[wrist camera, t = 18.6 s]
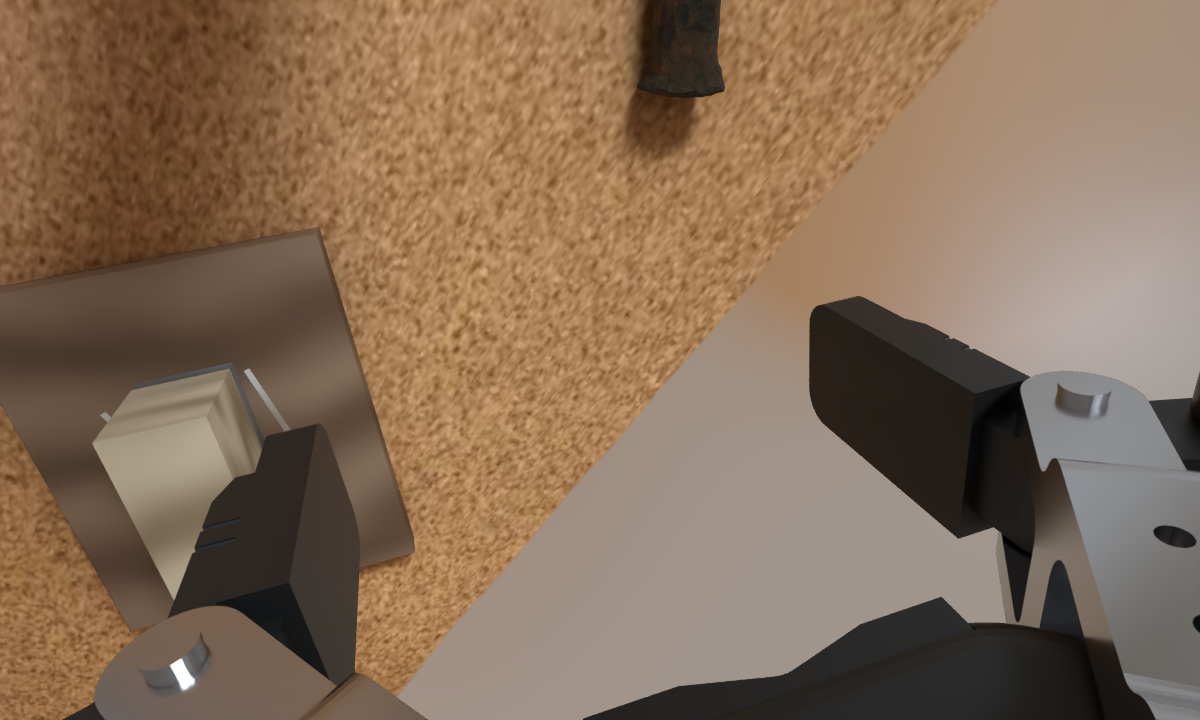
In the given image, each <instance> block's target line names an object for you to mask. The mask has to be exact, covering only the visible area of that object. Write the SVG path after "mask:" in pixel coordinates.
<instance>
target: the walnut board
mask: <svg viewBox="0 0 1200 720" xmlns="http://www.w3.org/2000/svg"><path fill="white" fill-rule="evenodd" d="M232 362H233V364H234V367H235V369H236V372H237V374H238V377H239V380H240V382H241V385H242V387H243V390H244V392H245V395H246V397H247V400H248V402H249V405H250V407H251V410H252V412H253V415H254V417H255V420H256V423H257V425H258V428H259V430H260V433H261V435H262V438H263V440H264V441H265V438H266V437H267V436H268V435H272V434H276V433H280V432H285V431H289V430H293V429H297V428H301V427H306V426H310V425H314V424H318V423H320V424H321V425H322V426H323V427H324V429H325V431H326V433H327V435H328V438H329V440H330V443H331V446H332V449H333V452H334V455H335V458H336V461H337V463H338V466H339V469H340V472H341V475H342V478H343V481H344V484H345V487H346V489H347V492H348V495H349V498H350V501H351V504H352V507H353V510H354V513H355V517H356V521H357V526H358V532H359V539H360V565H359V568H361V567H365V566H368V565H372V564H375V563H379V562H382V561H386V560H390V559H393V558H397V557H400V556H404V555H408V554H411V553H415V546H414V536H413V533H412V529H411V526H410V523H409V520H408V516H407V513H406V510H405V506H404V503H403V500H402V497H401V493H400V490H399V487H398V484H397V480H396V477H395V474H394V471H393V467H392V464H391V461H390V458H389V454H388V451H387V448H386V444H385V441H384V438H383V435H382V431H381V428H380V425H379V422H378V418H377V415H376V412H375V409H374V405H373V402H372V399H371V395H370V392H369V389H368V386H367V382H366V379H365V376H364V373H363V369H362V366H361V363H360V360H359V356H358V353H357V350H356V347H355V343H354V340H353V337H352V333H351V330H350V327H349V324H348V320H347V317H346V314H345V311H344V307H343V304H342V301H341V298H340V294H339V291H338V288H337V285H336V281H335V278H334V275H333V271H332V268H331V265H330V262H329V258H328V255H327V252H326V249H325V245H324V242H323V239H322V236H321V232H320V229H319V227H318V228H313V229H307V230H302V231H297V232H291V233H286V234H280V235H275V236H270V237H264V238H259V239H254V240H248V241H243V242H237V243H232V244H227V245H221V246H216V247H211V248H205V249H200V250H194V251H189V252H184V253H178V254H173V255H168V256H162V257H157V258H151V259H146V260H141V261H135V262H130V263H125V264H119V265H114V266H108V267H103V268H98V269H92V270H87V271H82V272H76V273H71V274H65V275H60V276H55V277H49V278H44V279H38V280H33V281H28V282H22V283H17V284H12V285H6V286H1V287H0V403H1V405H2V407H3V409H4V410H5V412H6V414H7V416H8V417H9V419H10V421H11V423H12V424H13V426H14V428H15V430H16V431H17V433H18V435H19V437H20V438H21V440H22V442H23V444H24V445H25V447H26V449H27V451H28V452H29V454H30V456H31V458H32V460H33V461H34V463H35V465H36V467H37V468H38V470H39V472H40V474H41V475H42V477H43V479H44V481H45V482H46V484H47V486H48V488H49V489H50V491H51V493H52V495H53V496H54V498H55V500H56V502H57V503H58V505H59V507H60V509H61V510H62V512H63V514H64V516H65V517H66V519H67V521H68V523H69V524H70V526H71V528H72V530H73V531H74V533H75V535H76V537H77V538H78V540H79V542H80V544H81V545H82V547H83V549H84V551H85V552H86V554H87V556H88V558H89V559H90V561H91V563H92V565H93V566H94V568H95V570H96V572H97V573H98V575H99V577H100V579H101V580H102V582H103V584H104V586H105V587H106V589H107V591H108V593H109V594H110V596H111V598H112V600H113V602H114V603H115V605H116V607H117V609H118V610H119V612H120V614H121V616H122V617H123V619H124V621H125V623H126V624H127V626H128V628H129V630H130V631H131V632H132V631H135V630H139V629H142V628H146V627H150V626H153V625H156V624H158V623H160V622H162V621H164V620H166V619H167V618H168V616H169V613H170V610H171V608H172V605H173V602H174V600H173V598H172V596H171V594H170V592H169V590H168V588H167V586H166V584H165V582H164V580H163V578H162V576H161V575H160V573H159V571H158V569H157V567H156V565H155V563H154V561H153V559H152V557H151V555H150V553H149V552H148V550H147V548H146V546H145V544H144V542H143V540H142V538H141V536H140V534H139V532H138V530H137V529H136V527H135V525H134V523H133V521H132V519H131V517H130V515H129V513H128V511H127V509H126V507H125V506H124V504H123V502H122V500H121V498H120V496H119V494H118V492H117V490H116V488H115V486H114V484H113V483H112V481H111V479H110V477H109V475H108V473H107V471H106V469H105V467H104V465H103V463H102V461H101V459H100V458H99V456H98V454H97V452H96V450H95V448H94V446H93V444H92V443H93V441H94V440H95V439H96V437H97V436H98V435H99V433H100V432H101V431H102V429H103V428H104V427H105V425H106V424H107V422H108V421H109V420H110V418H111V417H112V416H113V414H114V413H115V412H116V410H117V409H118V408H119V406H120V405H121V404H122V402H123V401H124V399H125V398H126V397H127V395H128V394H129V393H130V391H131V390H132V389H133V387H134V386H135V385H136V383H140V382H145V381H149V380H154V379H159V378H163V377H168V376H172V375H177V374H182V373H186V372H191V371H195V370H200V369H205V368H209V367H214V366H218V365H223V364H228V363H232Z"/></svg>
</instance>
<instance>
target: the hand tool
mask: <svg viewBox="0 0 1200 720" xmlns="http://www.w3.org/2000/svg"><path fill="white" fill-rule="evenodd" d="M720 4H721V0H652V12H651V14H652V28H651V49H650V58H649V66H648V69H647V72H646V75H645V77H644V78H643V79H642V80H641V81H640V82H639V83H638V85H637V87H638V88H639V89H640V90H641V91H644V90H645V91H647V92H650V93H655V94H659V95H663V96H667V97H683V98H690V97H704V96H711V95H713V94H716V93H720V92H724V89H725V86H724V82H723V78H722V71H721V67H720V65H719V63H718V54H717V48H718V37H719V25H720Z"/></svg>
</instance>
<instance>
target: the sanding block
mask: <svg viewBox="0 0 1200 720" xmlns="http://www.w3.org/2000/svg"><path fill="white" fill-rule="evenodd" d="M92 444H93V446H94V448H95V450H96V452H97V454H98V456H99V458H100V459H101V461H102V463H103V465H104V467H105V469H106V471H107V473H108V475H109V477H110V479H111V481H112V483H113V484H114V486H115V488H116V490H117V492H118V494H119V496H120V498H121V500H122V502H123V504H124V506H125V507H126V509H127V511H128V513H129V515H130V517H131V519H132V521H133V523H134V525H135V527H136V529H137V530H138V532H139V534H140V536H141V538H142V540H143V542H144V544H145V546H146V548H147V550H148V552H149V553H150V555H151V557H152V559H153V561H154V563H155V565H156V567H157V569H158V571H159V573H160V575H161V576H162V578H163V580H164V582H165V584H166V586H167V588H168V590H169V592H170V594H171V596H172V598H173V600H175V597H176V594H177V592H178V589H179V587H180V584H181V581H182V579H183V576H184V573H185V571H186V568H187V565H188V563H189V560H190V558H191V555H192V553H194V552H195V548H194V547H195V544H196V542H197V539H198V537H199V534H200V532H202V531H203V528H202V526H203V523H204V521H205V518H206V515H207V513H208V510H209V508H210V505H211V502H212V501H213V500H214V499H215V498H216V497H217V496H218V495H219V494H220V493H221V492H222V491H223V490H224V489H225V488H226V486H227V485H228V484H229V483H230V482H231V481H232V480H233V479H234V478H235V477H239V476H243V475H247V474H251V473H255V471H256V467H257V464H258V461H259V458H260V454H261V451H262V448H263V444H264V440H263V438H262V435H261V433H260V430H259V428H258V425H257V423H256V420H255V417H254V415H253V412H252V410H251V407H250V405H249V402H248V400H247V397H246V395H245V392H244V390H243V387H242V385H241V382H240V380H239V377H238V374H237V372H236V369H235V367H234V364H233V362H232V363H228V364H223V365H218V366H214V367H209V368H205V369H200V370H195V371H191V372H186V373H182V374H177V375H172V376H168V377H163V378H159V379H154V380H149V381H145V382H140V383H136V385H135V386H134V387H133V389H132V390H131V391H130V393H129V394H128V395H127V397H126V398H125V399H124V401H123V402H122V404H121V405H120V406H119V408H118V409H117V410H116V412H115V413H114V414H113V416H112V417H111V418H110V420H109V421H108V422H107V424H106V425H105V427H104V428H103V429H102V431H101V432H100V433H99V435H98V436H97V437H96V439H95V440H94V441H93V443H92Z"/></svg>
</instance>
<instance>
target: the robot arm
mask: <svg viewBox="0 0 1200 720" xmlns="http://www.w3.org/2000/svg"><path fill="white" fill-rule="evenodd" d="M809 352H810V355H809V358H810V359H809V361H810V362H809V373H810V374H809V390H810V397H811V401H812V405H813V408H814V410H815V412H816V414H817V416H818V417H819V419H820V420H821V422H822V423H823V424H824V425H825V426H827V427H828V428H829V429H830V430H831V431H832V432H834V433H835V434H836V435H837V436H838V437H840V438H841V439H842V440H843V441H844V442H846V443H847V444H848V445H849V446H850V447H851V448H853V449H854V450H855V451H856V452H857V453H858V454H859V455H861V456H862V457H863V458H864V459H865V460H867V461H868V462H869V463H870V464H871V465H872V466H874V467H875V468H876V469H877V470H878V471H879V472H881V473H882V474H883V475H884V476H885V477H886V478H888V479H889V480H890V481H891V482H892V483H893V484H895V485H896V486H897V487H898V488H899V489H901V490H902V491H903V492H904V493H905V494H906V495H908V496H909V497H910V498H911V499H912V500H914V501H915V502H916V503H917V504H918V505H919V506H920V507H922V508H923V509H924V510H925V511H926V512H928V513H929V514H930V515H931V516H932V517H933V518H935V519H936V520H937V521H938V522H939V523H941V524H942V525H943V526H944V527H945V528H946V529H948V530H949V531H950V532H951V533H953V535H955V536H956V537H957V538H958V539H959V538H962V537H965V536H968V535H971V534H974V533H977V532H980V531H983V530H986V529H990V528H992V527H994V528H995V529H997V530H998V531H999V533H998V540H997V546H996V557H997V563H998V570H999V578H1000V584H1001V591H1002V597H1003V605H1004V612H1005V619H1006V623H967V622H966V621H965V620H964V619H963V618H962V617H961V616H960V615H959V614H958V613H957V612H956V611H955V610H954V609H953V608H952V607H951V606H950V605H949V604H948V603H947V602H946V601H945V600H944V599H943V598H942V597H940V598H937V599H934V600H931V601H928V602H925V603H922V604H919V605H916V606H913V607H910V608H907V609H904V610H901V611H898V612H895V613H892V614H890V615H887V616H884V617H881V618H878V619H875V620H872V621H869V622H866V623H863V624H860V625H859V626H857V627H856V628H854V629H853V630H851V631H850V632H848V633H847V634H845V635H844V636H843V637H841V638H840V639H838V640H837V641H835V642H834V643H832V644H831V645H829V646H828V647H826V648H825V649H823V650H822V651H821V652H819V653H818V654H816V655H815V656H813V657H812V658H810V659H809V660H807V661H806V662H805V663H803V664H801V665H800V666H799V667H797V668H796V669H794V670H792V671H791V672H789V673H787V674H784V675H781V676H775V677H766V678H756V679H746V680H736V681H726V682H716V683H706V684H697V685H686V686H678V687H675V688H672V689H669V690H666V691H663V692H660V693H657V694H654V695H651V696H649V697H645V698H642V699H640V700H637V701H634V702H631V703H628V704H625V705H622V706H619V707H616V708H613V709H610V710H607V711H604V712H602V713H598V714H596V715H592V716H590V717H586V718H584V719H583V720H1200V373H1199V377H1198V380H1197V384H1196V387H1195V391H1194V395H1193V398H1185V399H1170V400H1156V401H1148V400H1147V398H1146V397H1145V396H1144V395H1143V394H1142V393H1141V392H1140V391H1138V390H1137V389H1135V388H1134V387H1132V386H1130V385H1128V384H1126V383H1123V382H1121V381H1118V380H1115V379H1112V378H1109V377H1105V376H1101V375H1096V374H1090V373H1084V372H1073V371H1060V372H1048V373H1043V374H1038V375H1035V376H1033V377H1029V376H1027V375H1025V374H1023V373H1021V372H1019V371H1017V370H1015V369H1013V368H1011V367H1009V366H1007V365H1005V364H1003V363H1002V362H1000V361H997V360H996V359H994V358H992V357H990V356H987V355H986V354H984V353H982V352H980V351H978V350H976V349H969V346H968V345H966V344H964V343H962V342H960V341H958V340H956V339H950V338H949V336H948V335H946V334H944V333H942V332H940V331H938V330H936V329H934V328H933V327H930V326H928V325H927V324H924V323H920V322H916V321H912V320H908V319H904V318H902V317H900V316H898V315H897V314H895V313H893V312H891V311H889V310H887V309H885V308H883V307H881V306H879V305H877V304H875V303H873V302H871V301H869V300H868V299H866V298H864V297H861V296H856V297H852V298H848V299H844V300H839V301H835V302H831V303H827V304H823V305H819V306H816V307H815V308H814V309H813V311H812V313H811V317H810V350H809ZM202 528H203V531H202V532H200V534H199V537H198V539H197V542H196V544H195V547H194V548H195V552H194V553H192V555H191V558H190V560H189V563H188V565H187V568H186V571H185V573H184V576H183V579H182V581H181V584H180V587H179V589H178V592H177V594H176V597H175V600H174V602H173V605H172V608H171V610H170V613H169V616H168V618H167V619H166V620H164V621H162V622H160V623H158V624H156V625H155V626H153V627H151V628H150V629H148V630H146V631H145V632H144V633H142V634H141V635H139V636H138V637H137V638H135V639H134V640H133V641H131V642H130V643H129V644H128V645H127V646H126V647H124V648H123V649H122V650H121V651H120V652H119V653H118V654H117V655H116V656H115V657H114V658H113V660H112V661H111V662H110V663H109V665H108V666H107V667H106V669H105V670H104V672H103V673H102V675H101V677H100V679H99V681H98V684H97V686H96V690H95V696H94V699H95V702H94V703H92V704H91V705H89V706H87V707H85V708H84V709H82V710H80V711H78V712H76V713H74V714H72V715H70V716H68V717H66V718H65V719H63V720H427V719H426V718H425V717H423V716H422V715H420V714H419V713H418V712H416V711H415V710H413V709H412V708H411V707H409V706H408V705H407V704H405V703H404V702H402V701H401V700H400V699H398V698H397V697H396V696H394V695H393V694H391V693H390V692H389V691H387V690H386V689H384V688H383V687H382V686H380V685H379V684H378V683H376V682H375V681H373V680H372V679H370V678H369V677H367V676H365V675H363V674H360V673H354V672H355V650H356V629H357V607H358V586H359V565H360V539H359V532H358V526H357V521H356V517H355V513H354V510H353V507H352V504H351V501H350V498H349V495H348V492H347V489H346V487H345V484H344V481H343V478H342V475H341V472H340V469H339V466H338V463H337V461H336V458H335V455H334V452H333V449H332V446H331V443H330V440H329V438H328V435H327V433H326V431H325V429H324V427H323V426H322V425H321V424H320V423H318V424H314V425H310V426H306V427H301V428H297V429H293V430H289V431H285V432H280V433H276V434H272V435H268V436H267V437H266V438H265V441H264V444H263V448H262V451H261V454H260V458H259V461H258V464H257V467H256V471H255V473H251V474H247V475H243V476H239V477H235V478H234V479H233V480H232V481H231V482H230V483H229V484H228V485H227V486H226V488H225V489H224V490H223V491H222V492H221V493H220V494H219V495H218V496H217V497H216V498H215V499H214V500H213V501H212V502H211V505H210V508H209V510H208V513H207V515H206V518H205V521H204V523H203V526H202Z"/></svg>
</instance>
